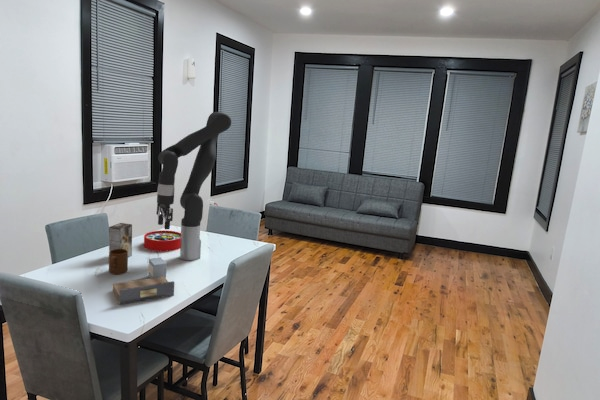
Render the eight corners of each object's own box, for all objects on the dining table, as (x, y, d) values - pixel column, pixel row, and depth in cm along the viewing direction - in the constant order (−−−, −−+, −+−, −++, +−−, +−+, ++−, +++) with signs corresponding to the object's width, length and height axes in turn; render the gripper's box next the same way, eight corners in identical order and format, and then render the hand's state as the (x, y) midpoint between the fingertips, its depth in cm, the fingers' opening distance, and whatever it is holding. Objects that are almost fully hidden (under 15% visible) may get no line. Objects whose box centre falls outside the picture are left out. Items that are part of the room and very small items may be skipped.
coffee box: (120, 253, 200) (121, 222, 197) (132, 255, 199) (132, 224, 196) (108, 259, 191) (108, 226, 188) (120, 261, 190) (120, 228, 187)
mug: (119, 279, 170) (120, 258, 168) (101, 278, 170) (101, 257, 168) (130, 269, 182) (130, 249, 180) (113, 267, 181) (113, 248, 180)
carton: (160, 274, 179) (161, 257, 178) (166, 280, 173) (166, 263, 171) (147, 276, 176) (148, 258, 174) (153, 282, 170) (153, 265, 168)
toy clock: (178, 229, 230) (187, 239, 213) (178, 239, 231) (186, 250, 214) (141, 231, 220) (147, 242, 203) (141, 241, 221) (147, 253, 204)
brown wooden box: (163, 283, 170) (163, 270, 169) (174, 295, 159) (174, 282, 158) (112, 291, 159) (112, 278, 158) (120, 305, 148) (120, 291, 147)
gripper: (179, 196, 185) (177, 230, 188) (168, 190, 196) (165, 222, 199) (163, 196, 180) (161, 231, 183) (152, 190, 191) (150, 223, 194)
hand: (163, 226), depth 191 cm, fingers open, 8 cm apart
